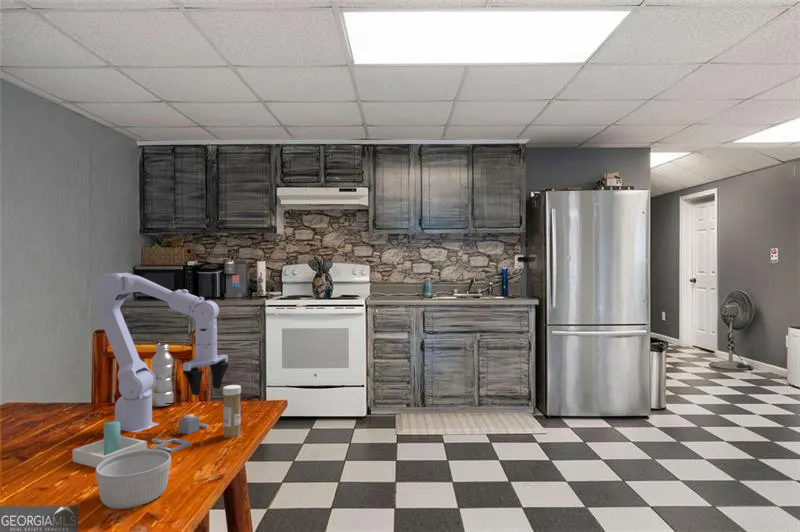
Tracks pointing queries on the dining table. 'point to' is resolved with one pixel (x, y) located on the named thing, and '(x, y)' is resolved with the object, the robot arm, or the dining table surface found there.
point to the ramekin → (133, 478)
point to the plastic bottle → (162, 376)
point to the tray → (95, 451)
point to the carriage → (188, 424)
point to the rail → (161, 441)
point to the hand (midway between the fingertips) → (206, 391)
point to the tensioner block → (169, 450)
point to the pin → (111, 437)
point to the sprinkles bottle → (231, 411)
